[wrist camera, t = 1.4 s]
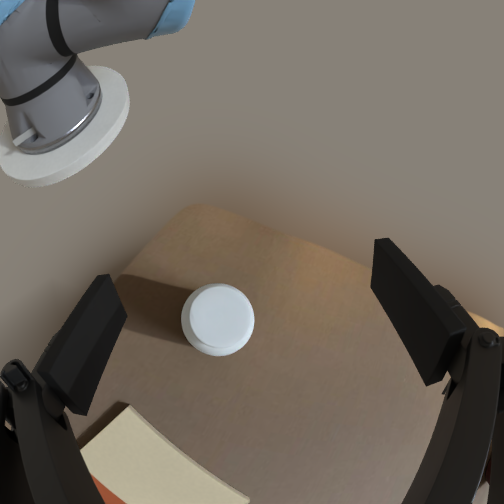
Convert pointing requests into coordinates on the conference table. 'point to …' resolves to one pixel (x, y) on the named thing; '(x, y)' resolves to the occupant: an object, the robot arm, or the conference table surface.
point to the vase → (488, 471)
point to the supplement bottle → (217, 319)
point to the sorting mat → (149, 467)
